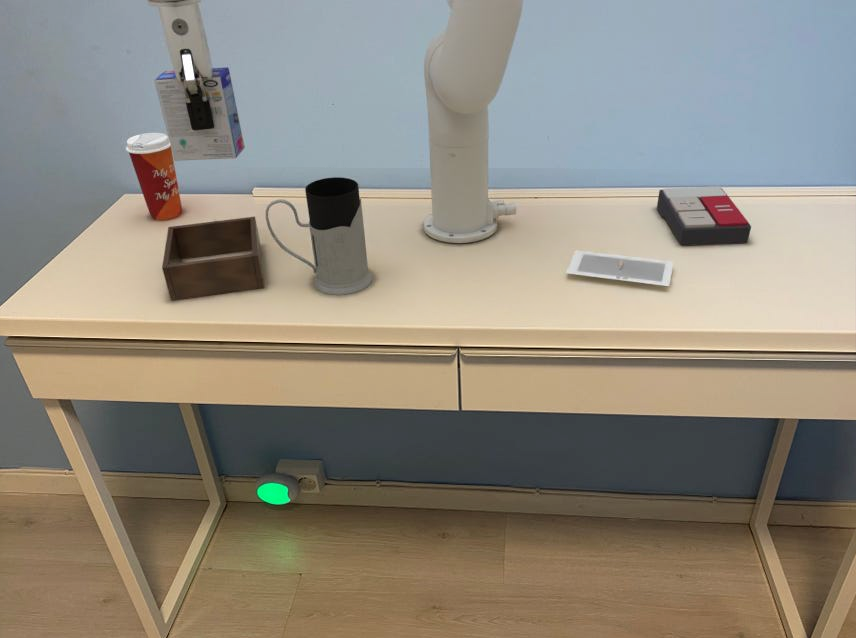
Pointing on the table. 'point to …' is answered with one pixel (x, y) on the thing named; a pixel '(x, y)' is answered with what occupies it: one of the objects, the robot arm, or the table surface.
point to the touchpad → (621, 268)
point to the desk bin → (212, 272)
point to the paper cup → (156, 174)
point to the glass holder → (334, 235)
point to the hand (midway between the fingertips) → (203, 120)
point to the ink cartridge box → (226, 130)
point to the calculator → (702, 216)
